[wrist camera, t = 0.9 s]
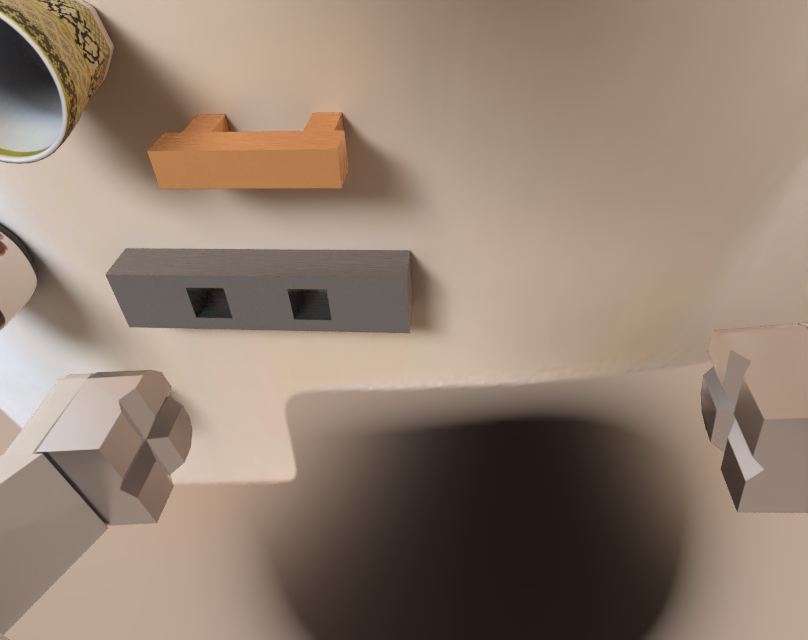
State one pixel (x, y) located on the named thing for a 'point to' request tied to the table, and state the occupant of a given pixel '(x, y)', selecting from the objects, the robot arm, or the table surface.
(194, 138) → the wooden arch block
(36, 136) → the ceramic cup
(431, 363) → the table surface
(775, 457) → the robot arm
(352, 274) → the rail
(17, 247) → the spread jar
